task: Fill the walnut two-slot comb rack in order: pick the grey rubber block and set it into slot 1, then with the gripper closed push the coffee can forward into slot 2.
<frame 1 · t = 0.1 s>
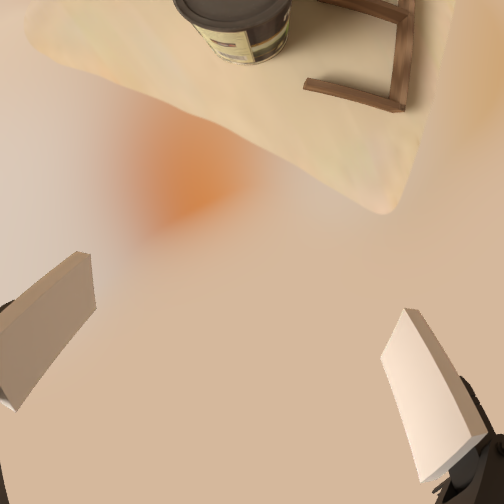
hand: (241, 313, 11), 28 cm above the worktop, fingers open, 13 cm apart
coffee can: (246, 30, 30), on the worktop
comb rack: (357, 20, 28), on the worktop
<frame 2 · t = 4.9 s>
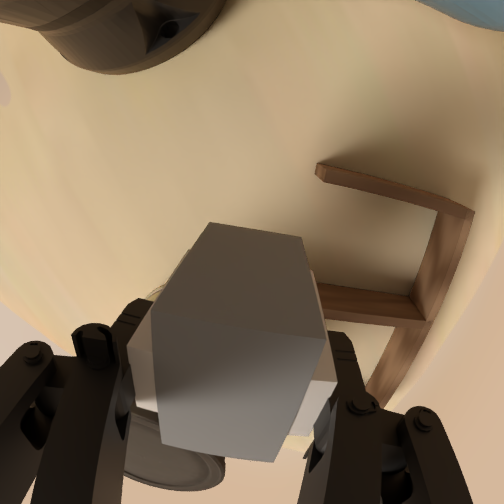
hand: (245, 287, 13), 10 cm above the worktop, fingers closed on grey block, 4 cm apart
coffee can: (190, 328, 27), on the worktop
grey block: (245, 290, 14), point 10 cm above the worktop, touching gripper
comb rack: (346, 312, 25), on the worktop
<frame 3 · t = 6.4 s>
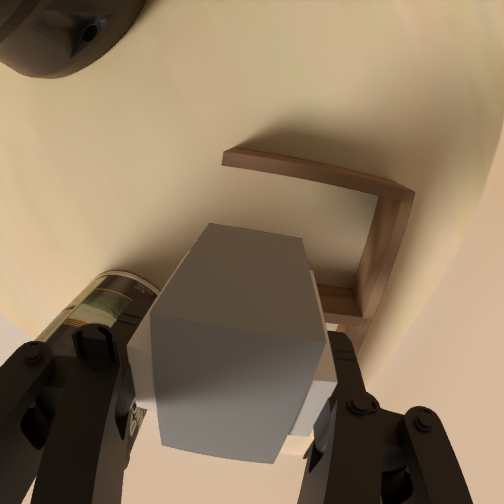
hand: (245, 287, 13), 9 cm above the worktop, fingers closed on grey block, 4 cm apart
coffee can: (129, 316, 27), on the worktop
grey block: (245, 291, 14), point 9 cm above the worktop, touching gripper
comb rack: (280, 304, 25), on the worktop
when the fingers open (0 cm above the worktop, at t = 8.0 s): grey block stays where it is, on the worktop.
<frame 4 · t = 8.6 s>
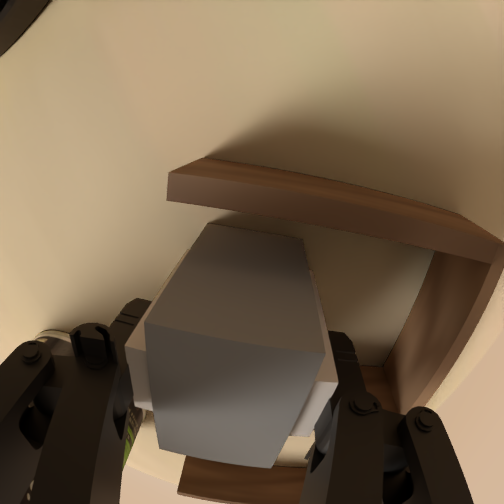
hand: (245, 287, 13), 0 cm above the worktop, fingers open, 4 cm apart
coffee can: (85, 381, 18), on the worktop
grey block: (244, 292, 14), on the worktop, touching gripper
comb rack: (280, 387, 16), on the worktop
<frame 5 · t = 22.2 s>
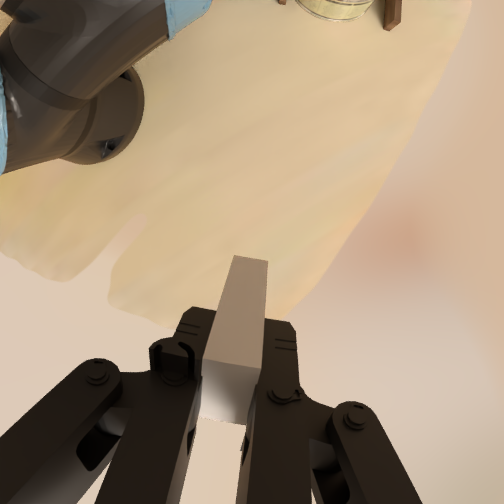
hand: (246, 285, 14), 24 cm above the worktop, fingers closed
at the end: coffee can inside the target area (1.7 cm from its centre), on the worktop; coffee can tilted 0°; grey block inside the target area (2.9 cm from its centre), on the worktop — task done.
